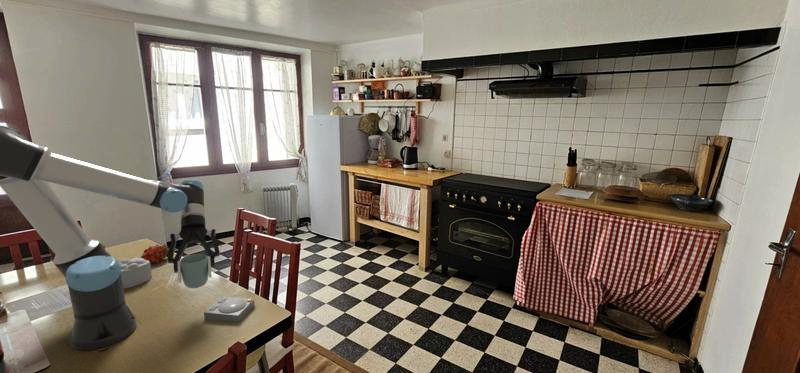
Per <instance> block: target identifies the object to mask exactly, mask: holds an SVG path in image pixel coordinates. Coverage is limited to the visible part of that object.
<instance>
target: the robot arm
mask: <svg viewBox="0 0 800 373" xmlns="http://www.w3.org/2000/svg"><path fill="white" fill-rule="evenodd" d="M50 183H52V184H57V185H60V186H65V187H68V188H74V189H78V190H81V191H85V192H91V193H95V194H99V195H103V196H108V197H112V198H117V199H120V200H125V201H129V202H133V203H138V204H141V205H146V206H150V207H154V208H159V209H161V210H163V211H165V212H167V213H179V212H180V231H179V233H170V235H169V238H170V243H169V246H168V247H169V252H168V256H167V257H166V260H167V263H168V264H173V272H174V274H176V273H177V282H178V283H179V284H181V283H182V273H181V259H182V258H183V255H184V253H185V251H186V249H187V247H189V246H188V245H191V244H194V243H195V244H197V243H200V245H201V246H202V247H203V249H204V251H205V252H206V254H207V257H208V271H209V276H208V279H209V278H212V268H215V266H216V265H215V264H216V263H215V258H216V257H220V255H221V253H220V252H221V251H220V249H219V245H218V242H217V238H216V229H215V228H213V229H211V230H210V229H209V230H208V229H207V228H206V214H205V212H206V211H205V208H206V207H205V191H204V185H203V183H202V182H201V181H199V180H197V179H193V178H192V179H185V180H183V181H182V182H181V183H180V184H179V183H172V182H167V181H160V180H158V179H144V178H142V177H138V176H134V175H132V174H127V173H124V172H120V171H117V170H113V169H111V168H106V167H103V166H99V165H95V164H93V163H90V162H86V161H82V160H79V159H75V158H72V157H69V156H64V155H61V154H58V153H54V152H51V151H50V149H49V148H48V146H45V145H44V146H43V145H41V144H37V143H35V142H32V141H29V140H28V138H27V137H26V135H24V134H23V133H21V132H20V131H18V130H16V129H13V128H12V127H7V126H4V125H0V188H1V189H2V191H3V192H4V193H5V194H6V195H7V197H8V198H9V199H10V200H11V202H12V203H13V204H14V205H15V207H17V209H18V210H19V212H20V213H21V214H22V215H23V217H25V219H26V220H27V221H28V223H29V224H30V225H31V226H32V227H33V229H34V230H35V232H37V234H38V235H39V236H40V237H41V238H42V240H43V241H44V242H45V243H46V245H47V246H48V247H49V248H50V249H51V251H52V252H53V253H54V255H55V256H54V257H53V260H52V263H53V264H54V265H55V267H56V268H57V269H58V270H59V272H60V273H61V274H62V275H63V276H64V278H65V282H66V284H67V288H68V292H69V297H70V298H69V299H70V303H71V307H72V312H73V316H74V317H73V318H74V321H73V325H72V332H71V334H70V336H69V341H70V346H71V348H72V349H73V350H77V351H92V350H99V349H101V348H104V347H108V346H111V345H113V344H115V343H118V342H120V341H122V340H124V339H125V338H127V337H129V335H131V334H132V333H133V332H134V331H135V329H136V327H137V320H136V319H137V318H136V317H135V315H134V314H133V312H132V310H130V308H129V306H128V305H127V303H126V298H125V292H124V291H125V290H124V289H123V285H122V279H121V267H120V265H119V263H118V262H119V261H118V260H117V258H115V257H113V256H112V255H111V254H110V253H109V252H108V251H107V250H106V248H105V249H104V248H103V246H102V245H101V242H100V240H98V239H91V238H90V237H89V236H88V234H87V233H86V231H85V230H84V229H83V228H82V226H81V225H80V223H78V221H77V219H76V218H75V217H74V215H73V214H72V212H71V211H70V210H69V209H68V207H67V206H66V205H65V203H64V201H63V200H61V198H60V196H59V195H58V194H57V192H56V191H55V189H54V188H53V187H52V185H51V184H50ZM207 235H208V237H210V239H211V242H212V246H213V250H214V252H213V250H212V249H211V247H210V246H209V244H208V243H207V241H206V240H205V237H206V236H207ZM179 238H180V239H182V242H181V244H180V246H179V248H178V250H177V252H176V253H175V250H176V246H177V241H178V240H179Z"/></svg>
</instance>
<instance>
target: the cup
mask: <svg viewBox="0 0 800 373" xmlns="http://www.w3.org/2000/svg"><path fill="white" fill-rule="evenodd" d="M208 257H209V256H208V255H206V254H205V253H204V254H203V253H195V254H191V255H190V254H189V255H187V256H184V257H181V259H180V261H181V280H182V283H183V285H184V286H185V287H186V288H187V289H199V288H201V287H203V286H205V285H206V284H207V282H208V280H209V271H208Z"/></svg>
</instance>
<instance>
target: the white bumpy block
mask: <svg viewBox="0 0 800 373" xmlns="http://www.w3.org/2000/svg"><path fill="white" fill-rule="evenodd" d="M118 263H119V265H120V267H121V279H122V285H123V290H124V289H128V288H132V287H133V288H134V287H136V286H138V285H141V284H143V283H146V282H148V281H150V280H151V279H152V278H153V274H152V267H151V263H150V261H148V260H144V259H143V258H141V257H132V258H131V259H127V258H124V259H120V260H119V261H118Z"/></svg>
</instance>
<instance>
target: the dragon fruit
mask: <svg viewBox="0 0 800 373" xmlns="http://www.w3.org/2000/svg"><path fill="white" fill-rule="evenodd" d="M169 247H170V246H167V245H165V244H162V245H161V244H155V245H152V246H149V247H148V248H146V249H144V250H143V253H142V254H141V257H140V258H143V259H144V260H148V261H150V264H153V263H156V264H159V263H160V262H162V261H164V259H167V256H168V252H169Z"/></svg>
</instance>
